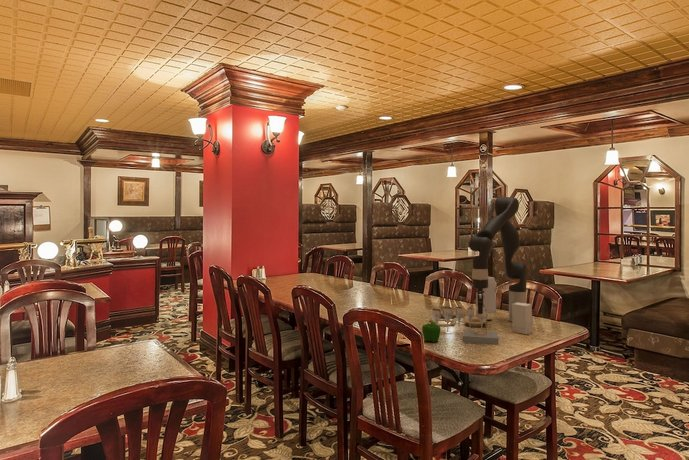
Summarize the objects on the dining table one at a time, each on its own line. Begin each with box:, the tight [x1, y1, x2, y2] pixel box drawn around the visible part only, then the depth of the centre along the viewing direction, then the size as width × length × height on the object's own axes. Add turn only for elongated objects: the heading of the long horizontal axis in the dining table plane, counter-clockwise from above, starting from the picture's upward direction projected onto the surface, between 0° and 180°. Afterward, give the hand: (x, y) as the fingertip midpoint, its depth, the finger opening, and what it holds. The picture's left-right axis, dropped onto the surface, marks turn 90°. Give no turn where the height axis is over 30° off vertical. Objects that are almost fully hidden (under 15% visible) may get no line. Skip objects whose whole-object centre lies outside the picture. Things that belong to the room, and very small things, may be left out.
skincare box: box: [511, 302, 534, 335], centre depth 232 cm, size 8×6×15 cm
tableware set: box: [428, 307, 494, 328], centre depth 258 cm, size 35×29×4 cm
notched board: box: [462, 329, 499, 345], centre depth 220 cm, size 12×16×3 cm
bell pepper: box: [421, 321, 441, 343], centre depth 219 cm, size 8×8×10 cm
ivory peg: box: [475, 294, 485, 317], centre depth 221 cm, size 4×4×10 cm
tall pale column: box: [483, 276, 497, 314], centre depth 279 cm, size 11×4×22 cm, turn 91°
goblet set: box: [431, 306, 489, 335], centre depth 233 cm, size 28×6×13 cm, turn 82°
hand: (480, 312), depth 221 cm, fingers closed on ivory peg, 4 cm apart
